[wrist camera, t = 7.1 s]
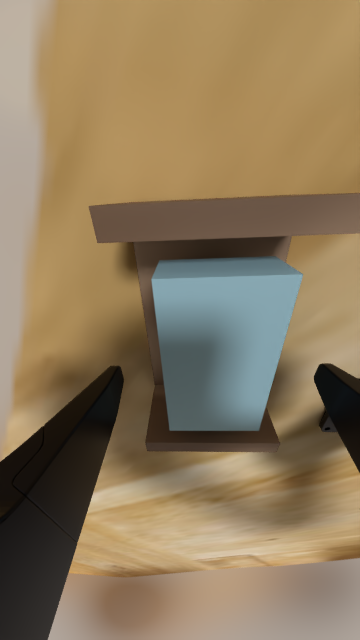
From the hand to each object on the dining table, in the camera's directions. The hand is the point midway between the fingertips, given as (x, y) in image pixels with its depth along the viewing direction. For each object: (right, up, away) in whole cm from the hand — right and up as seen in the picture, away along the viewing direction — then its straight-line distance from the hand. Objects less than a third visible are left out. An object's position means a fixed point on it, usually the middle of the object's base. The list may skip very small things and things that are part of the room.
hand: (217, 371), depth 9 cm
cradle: (0, +2, +4) cm, 5 cm away
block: (0, +1, +2) cm, 2 cm away
